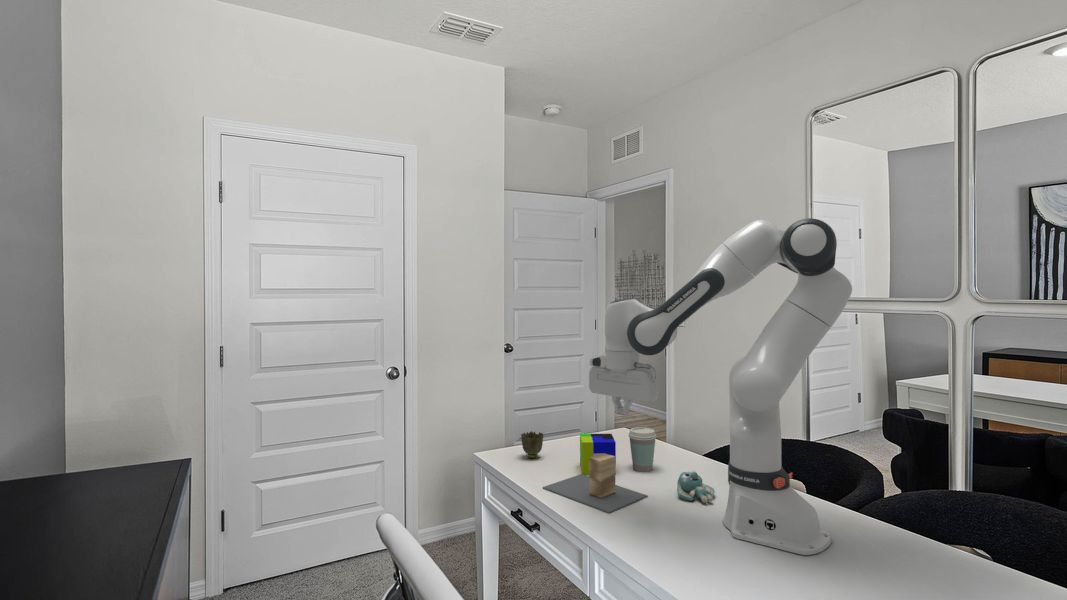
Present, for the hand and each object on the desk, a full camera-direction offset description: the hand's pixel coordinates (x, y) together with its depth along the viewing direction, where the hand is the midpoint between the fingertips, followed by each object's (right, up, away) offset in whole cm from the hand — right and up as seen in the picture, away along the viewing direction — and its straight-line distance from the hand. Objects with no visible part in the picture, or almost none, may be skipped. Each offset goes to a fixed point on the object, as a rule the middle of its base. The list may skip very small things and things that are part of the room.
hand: (622, 414), depth 141 cm
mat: (-7, -23, +8) cm, 25 cm away
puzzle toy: (-3, -23, +27) cm, 35 cm away
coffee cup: (+11, -23, +27) cm, 37 cm away
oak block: (-5, -23, +5) cm, 24 cm away
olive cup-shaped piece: (-23, -23, +40) cm, 51 cm away
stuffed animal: (+20, -23, +4) cm, 31 cm away
